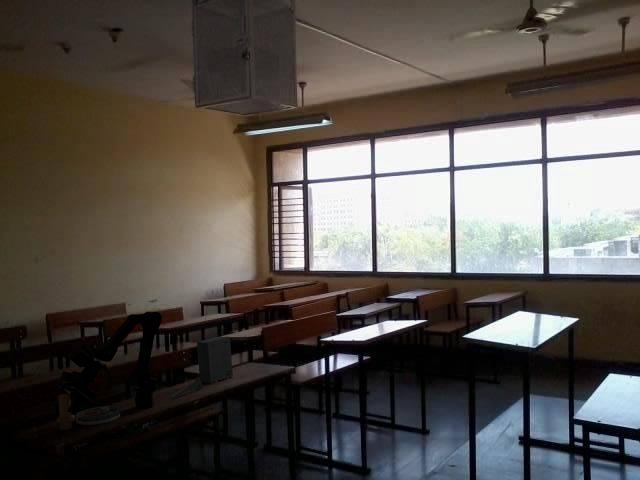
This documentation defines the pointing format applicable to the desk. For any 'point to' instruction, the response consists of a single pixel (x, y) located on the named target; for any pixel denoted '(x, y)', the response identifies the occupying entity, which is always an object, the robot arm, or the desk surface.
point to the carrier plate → (98, 415)
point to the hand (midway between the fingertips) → (62, 410)
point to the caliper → (191, 386)
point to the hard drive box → (214, 359)
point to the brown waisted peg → (65, 412)
